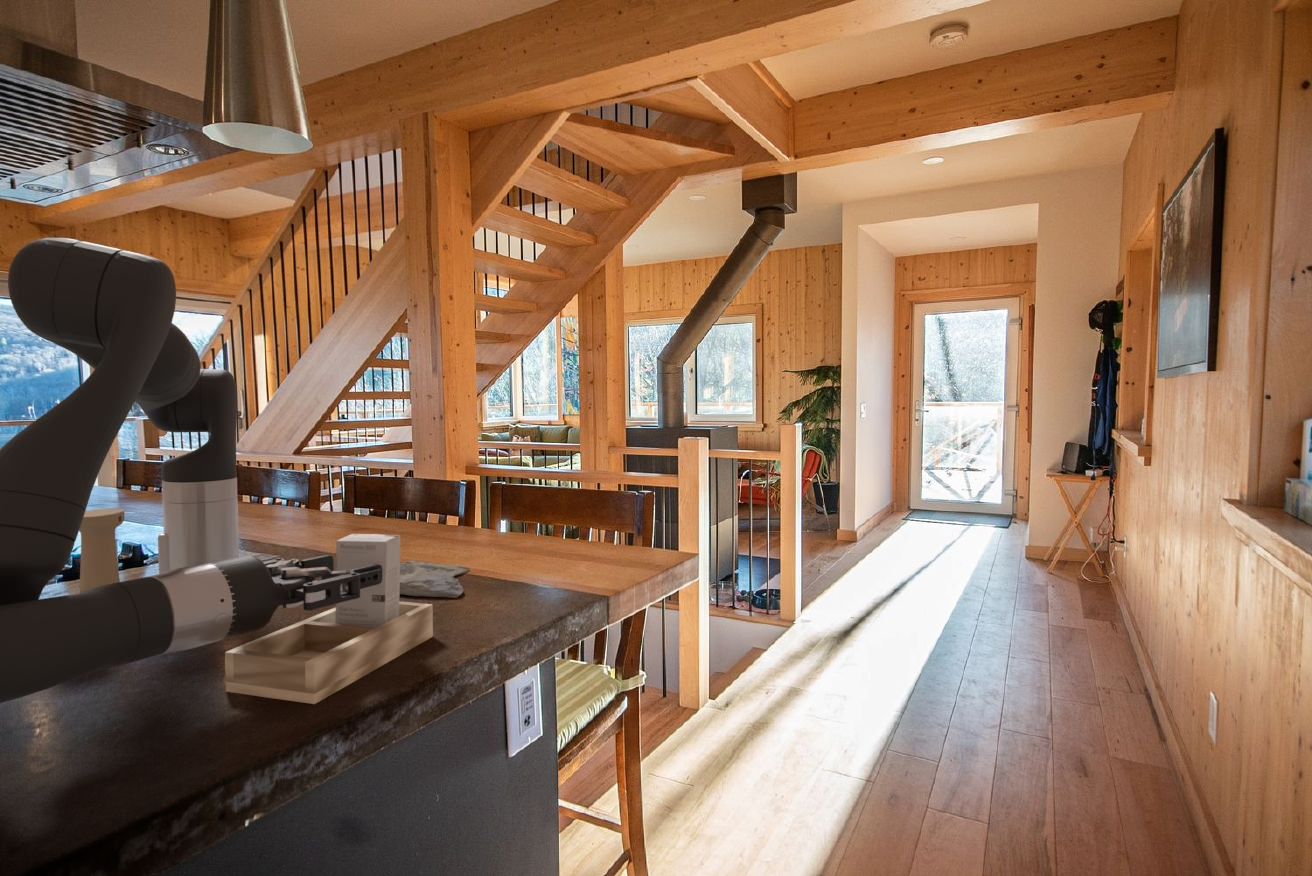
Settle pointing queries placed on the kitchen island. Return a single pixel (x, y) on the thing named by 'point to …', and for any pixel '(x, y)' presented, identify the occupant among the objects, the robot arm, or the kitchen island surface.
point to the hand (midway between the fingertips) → (355, 568)
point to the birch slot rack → (322, 654)
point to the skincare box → (378, 599)
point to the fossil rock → (430, 579)
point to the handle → (99, 548)
